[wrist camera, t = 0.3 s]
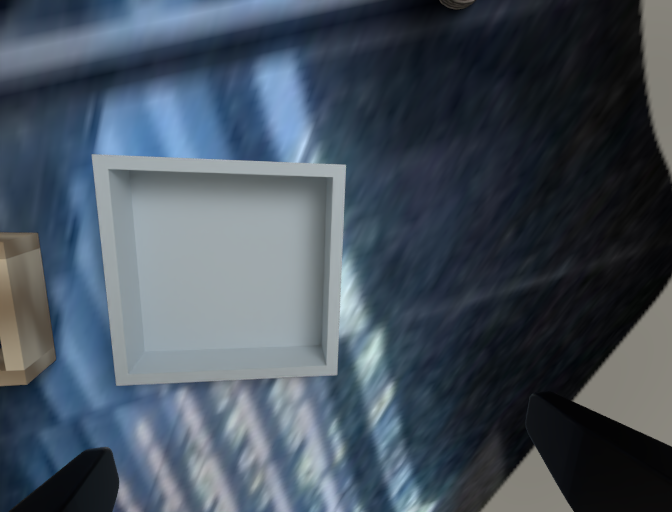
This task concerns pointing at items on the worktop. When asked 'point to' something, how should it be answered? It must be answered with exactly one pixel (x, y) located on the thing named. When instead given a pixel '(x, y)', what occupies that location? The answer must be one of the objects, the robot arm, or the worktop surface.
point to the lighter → (457, 3)
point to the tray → (220, 267)
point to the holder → (23, 311)
